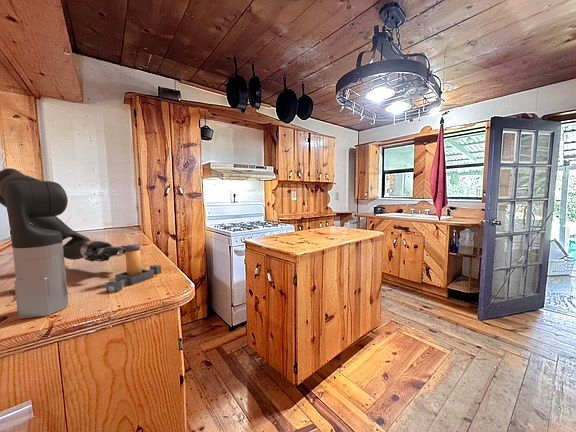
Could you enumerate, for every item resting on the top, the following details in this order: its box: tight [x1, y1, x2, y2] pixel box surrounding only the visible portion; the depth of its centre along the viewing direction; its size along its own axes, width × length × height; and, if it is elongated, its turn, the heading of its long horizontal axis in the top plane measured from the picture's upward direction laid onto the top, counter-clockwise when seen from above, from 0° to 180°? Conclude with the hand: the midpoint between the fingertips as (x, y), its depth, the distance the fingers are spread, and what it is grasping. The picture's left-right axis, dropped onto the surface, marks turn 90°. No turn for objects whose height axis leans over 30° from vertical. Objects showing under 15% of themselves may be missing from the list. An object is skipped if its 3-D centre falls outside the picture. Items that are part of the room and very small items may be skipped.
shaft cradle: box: [105, 264, 162, 293], centre depth 88 cm, size 20×10×3 cm, turn 157°
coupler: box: [124, 244, 143, 276], centre depth 89 cm, size 4×4×12 cm
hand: (120, 254), depth 93 cm, fingers open, 8 cm apart
